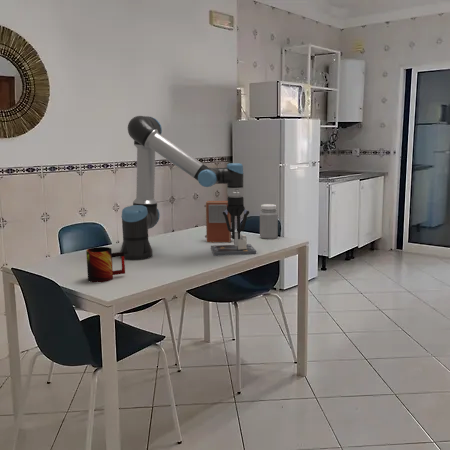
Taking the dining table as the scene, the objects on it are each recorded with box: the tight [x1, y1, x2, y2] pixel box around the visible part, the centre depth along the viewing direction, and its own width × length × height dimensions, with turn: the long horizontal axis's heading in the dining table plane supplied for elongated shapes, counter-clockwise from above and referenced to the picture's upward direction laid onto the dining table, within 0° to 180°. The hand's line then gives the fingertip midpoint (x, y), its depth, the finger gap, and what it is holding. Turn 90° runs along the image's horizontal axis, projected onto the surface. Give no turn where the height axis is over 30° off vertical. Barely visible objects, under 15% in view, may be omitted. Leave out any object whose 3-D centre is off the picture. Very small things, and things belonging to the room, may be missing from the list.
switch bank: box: [210, 243, 257, 257], centre depth 252 cm, size 20×16×2 cm
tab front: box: [237, 237, 248, 250], centre depth 248 cm, size 4×4×5 cm
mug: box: [85, 246, 126, 283], centre depth 206 cm, size 10×14×12 cm
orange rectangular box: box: [204, 200, 232, 243], centre depth 274 cm, size 21×7×15 cm
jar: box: [259, 203, 279, 240], centre depth 283 cm, size 10×10×18 cm
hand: (236, 245), depth 247 cm, fingers closed
